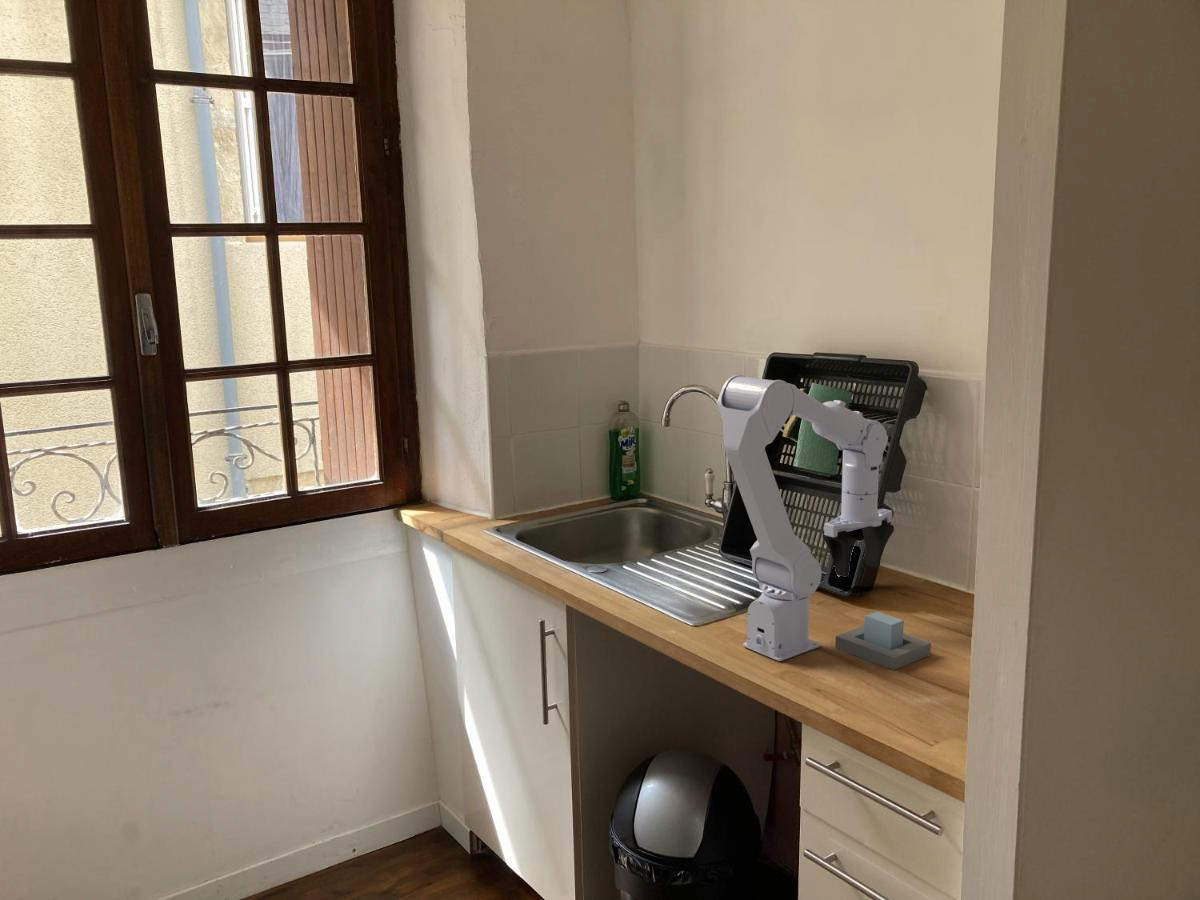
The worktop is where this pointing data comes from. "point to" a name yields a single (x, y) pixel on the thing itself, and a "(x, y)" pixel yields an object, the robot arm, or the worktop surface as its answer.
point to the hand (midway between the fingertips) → (857, 570)
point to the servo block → (884, 630)
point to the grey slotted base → (883, 649)
